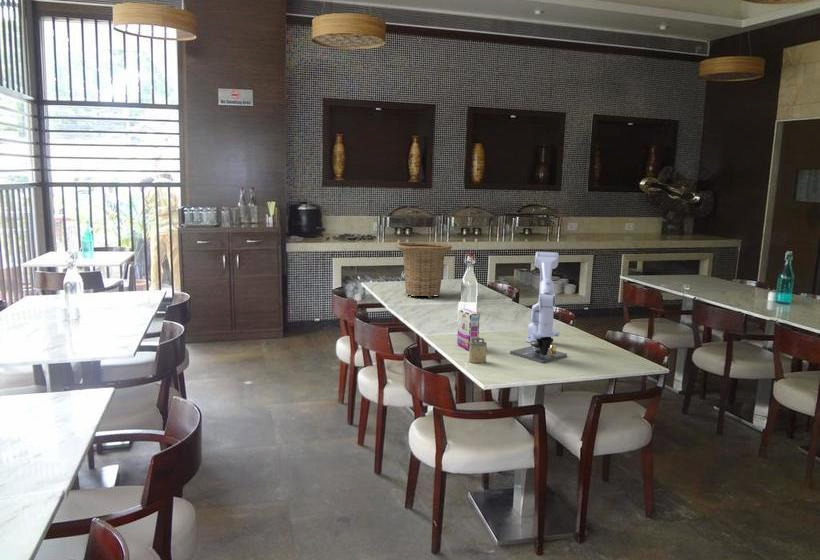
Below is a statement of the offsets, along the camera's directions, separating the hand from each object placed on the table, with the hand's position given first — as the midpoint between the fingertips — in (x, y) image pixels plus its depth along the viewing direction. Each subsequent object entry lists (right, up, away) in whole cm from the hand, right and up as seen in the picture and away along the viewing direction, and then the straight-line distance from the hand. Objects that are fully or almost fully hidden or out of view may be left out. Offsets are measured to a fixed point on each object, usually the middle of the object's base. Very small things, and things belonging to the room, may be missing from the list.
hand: (543, 354), depth 258 cm
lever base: (-1, -1, +7) cm, 7 cm away
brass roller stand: (+1, +1, +6) cm, 6 cm away
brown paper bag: (-28, -3, -6) cm, 29 cm away
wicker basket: (-48, +21, +139) cm, 148 cm away
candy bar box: (-30, +1, +16) cm, 34 cm away
